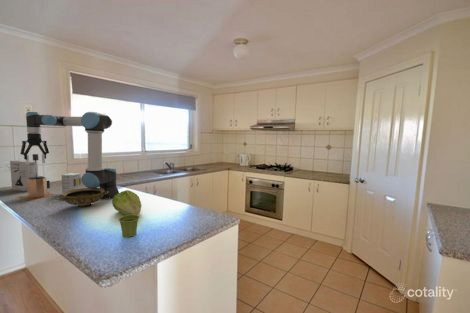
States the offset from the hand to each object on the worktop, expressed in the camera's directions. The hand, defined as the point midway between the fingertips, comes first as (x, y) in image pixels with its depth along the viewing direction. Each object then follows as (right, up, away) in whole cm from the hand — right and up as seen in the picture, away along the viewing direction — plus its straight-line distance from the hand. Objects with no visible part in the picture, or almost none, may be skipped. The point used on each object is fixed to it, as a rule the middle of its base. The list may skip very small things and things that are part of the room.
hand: (35, 163), depth 167 cm
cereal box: (-33, -24, +26) cm, 48 cm away
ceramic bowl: (+46, -29, -13) cm, 56 cm away
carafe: (0, -25, +3) cm, 25 cm away
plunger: (0, -17, +2) cm, 17 cm away
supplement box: (+17, -26, +14) cm, 34 cm away
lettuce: (+83, -31, -27) cm, 93 cm away
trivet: (-1, -26, +2) cm, 26 cm away
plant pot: (+97, -34, -56) cm, 117 cm away
